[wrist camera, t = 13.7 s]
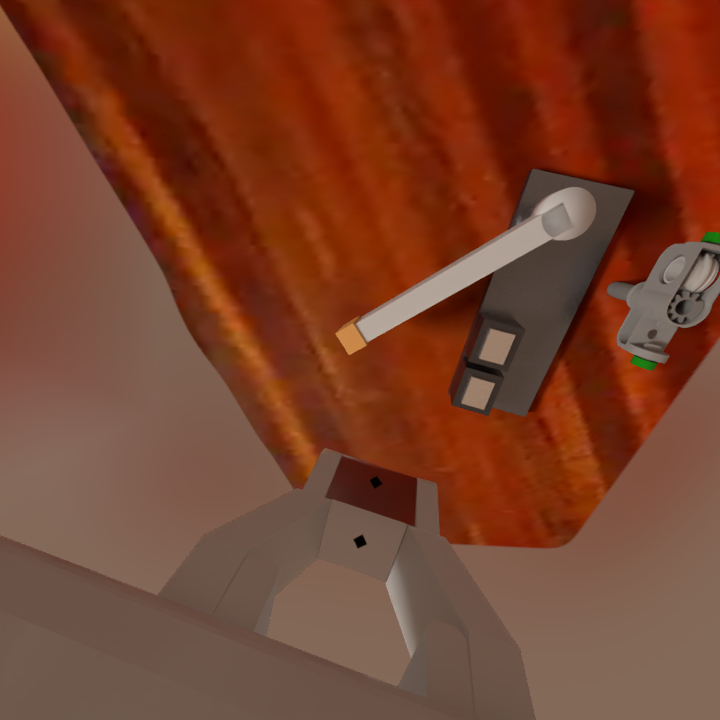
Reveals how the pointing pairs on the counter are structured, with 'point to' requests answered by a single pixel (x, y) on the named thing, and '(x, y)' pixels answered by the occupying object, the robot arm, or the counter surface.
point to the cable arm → (478, 263)
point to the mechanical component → (668, 299)
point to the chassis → (547, 284)
